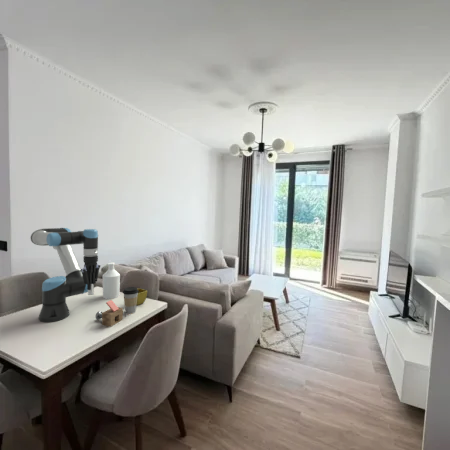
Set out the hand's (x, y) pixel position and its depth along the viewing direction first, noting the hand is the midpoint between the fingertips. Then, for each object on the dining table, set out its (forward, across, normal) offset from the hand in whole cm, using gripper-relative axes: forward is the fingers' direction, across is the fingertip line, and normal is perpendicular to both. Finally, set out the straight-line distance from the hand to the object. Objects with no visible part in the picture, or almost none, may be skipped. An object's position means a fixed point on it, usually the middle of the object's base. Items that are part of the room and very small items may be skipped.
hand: (90, 294), depth 152 cm
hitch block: (+15, 0, -15) cm, 21 cm away
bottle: (+15, +35, +15) cm, 41 cm away
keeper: (+5, 0, -15) cm, 16 cm away
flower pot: (+15, +30, -12) cm, 35 cm away
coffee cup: (+15, +16, -16) cm, 27 cm away
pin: (+14, 0, -11) cm, 18 cm away
